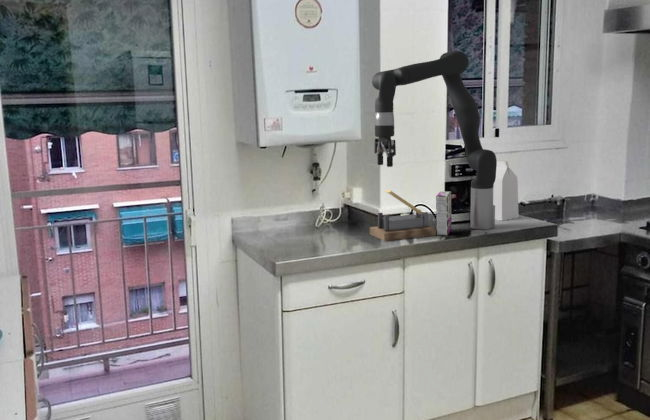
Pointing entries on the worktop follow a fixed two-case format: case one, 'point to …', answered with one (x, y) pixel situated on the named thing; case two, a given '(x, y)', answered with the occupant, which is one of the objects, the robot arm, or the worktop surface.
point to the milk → (505, 192)
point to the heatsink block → (402, 222)
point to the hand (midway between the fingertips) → (385, 165)
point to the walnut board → (402, 233)
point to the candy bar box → (443, 213)
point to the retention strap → (405, 202)
